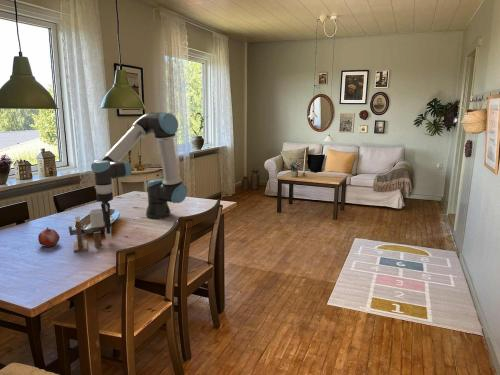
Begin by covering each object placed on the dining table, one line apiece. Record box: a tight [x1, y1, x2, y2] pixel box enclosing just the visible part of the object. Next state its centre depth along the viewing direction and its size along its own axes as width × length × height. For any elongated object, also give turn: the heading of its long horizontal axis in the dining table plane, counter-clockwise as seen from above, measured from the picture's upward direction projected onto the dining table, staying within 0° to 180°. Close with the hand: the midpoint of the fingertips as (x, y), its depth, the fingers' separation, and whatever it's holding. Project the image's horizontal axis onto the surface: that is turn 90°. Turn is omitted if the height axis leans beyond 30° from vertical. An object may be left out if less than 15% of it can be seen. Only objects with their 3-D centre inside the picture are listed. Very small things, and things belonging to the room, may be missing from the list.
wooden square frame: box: [73, 216, 89, 253], centre depth 179 cm, size 6×12×14 cm, turn 25°
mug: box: [89, 208, 104, 228], centre depth 206 cm, size 12×9×11 cm
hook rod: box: [68, 221, 113, 236], centre depth 182 cm, size 19×6×7 cm, turn 115°
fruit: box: [37, 226, 60, 248], centre depth 182 cm, size 9×10×10 cm
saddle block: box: [93, 232, 102, 248], centre depth 184 cm, size 3×5×6 cm, turn 25°
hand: (108, 236), depth 186 cm, fingers closed on hook rod, 6 cm apart
